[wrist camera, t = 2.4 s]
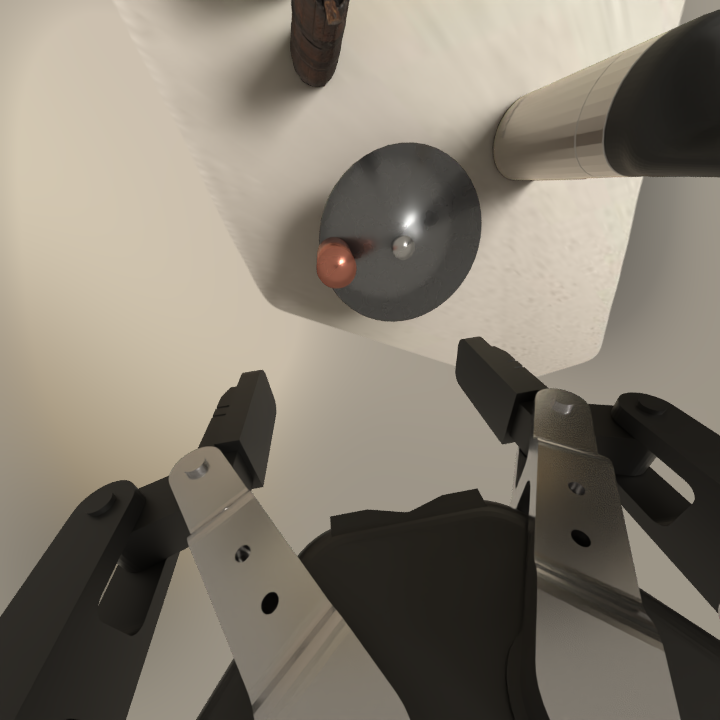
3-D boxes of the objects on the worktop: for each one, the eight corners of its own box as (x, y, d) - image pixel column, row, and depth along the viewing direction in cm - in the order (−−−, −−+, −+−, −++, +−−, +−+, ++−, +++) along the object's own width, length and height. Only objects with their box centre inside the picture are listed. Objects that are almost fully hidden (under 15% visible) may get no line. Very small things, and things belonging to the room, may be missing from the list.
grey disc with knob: (486, 135, 27) (537, 120, 20) (464, 307, 37) (494, 332, 30) (301, 154, 26) (294, 144, 19) (329, 325, 36) (331, 355, 29)
